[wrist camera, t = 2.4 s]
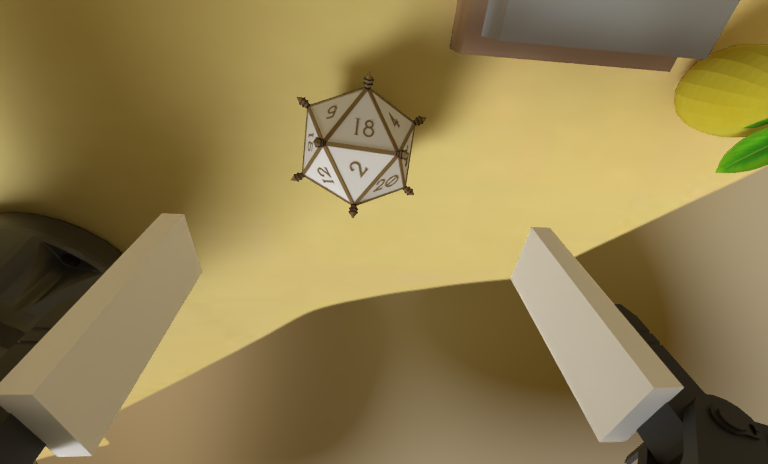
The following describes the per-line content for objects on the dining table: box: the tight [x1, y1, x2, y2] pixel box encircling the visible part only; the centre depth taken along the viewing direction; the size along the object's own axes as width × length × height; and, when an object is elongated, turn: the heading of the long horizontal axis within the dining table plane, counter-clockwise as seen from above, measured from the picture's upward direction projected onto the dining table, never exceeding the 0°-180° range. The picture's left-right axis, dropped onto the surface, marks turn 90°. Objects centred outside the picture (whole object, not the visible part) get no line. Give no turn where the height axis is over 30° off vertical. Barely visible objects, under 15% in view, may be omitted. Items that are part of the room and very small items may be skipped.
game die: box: [291, 72, 426, 218], centre depth 22 cm, size 9×8×10 cm
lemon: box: [674, 44, 768, 173], centre depth 21 cm, size 7×6×10 cm
